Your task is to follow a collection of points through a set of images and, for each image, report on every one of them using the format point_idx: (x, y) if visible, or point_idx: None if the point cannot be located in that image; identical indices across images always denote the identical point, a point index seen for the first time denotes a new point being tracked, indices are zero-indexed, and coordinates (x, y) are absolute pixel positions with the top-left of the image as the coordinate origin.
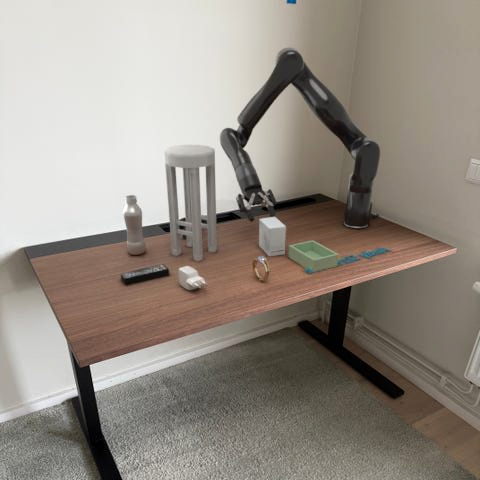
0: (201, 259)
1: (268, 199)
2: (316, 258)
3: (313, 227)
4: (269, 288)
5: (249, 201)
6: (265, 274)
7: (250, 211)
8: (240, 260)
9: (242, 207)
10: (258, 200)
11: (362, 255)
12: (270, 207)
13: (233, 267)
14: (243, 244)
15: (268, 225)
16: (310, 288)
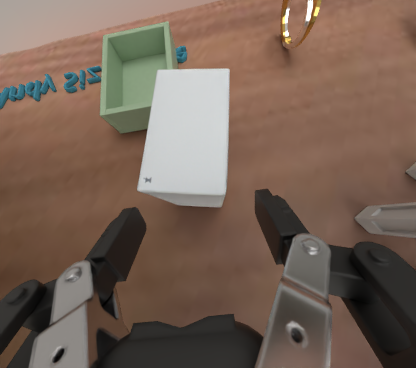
0: (411, 166)
1: (40, 332)
2: (158, 26)
3: (10, 286)
4: (278, 18)
5: (331, 325)
6: (290, 3)
7: (287, 223)
8: (299, 136)
9: (395, 256)
10: (169, 352)
11: (51, 84)
12: (107, 251)
13: (326, 106)
14: (260, 234)
15: (220, 96)
16: (211, 8)
